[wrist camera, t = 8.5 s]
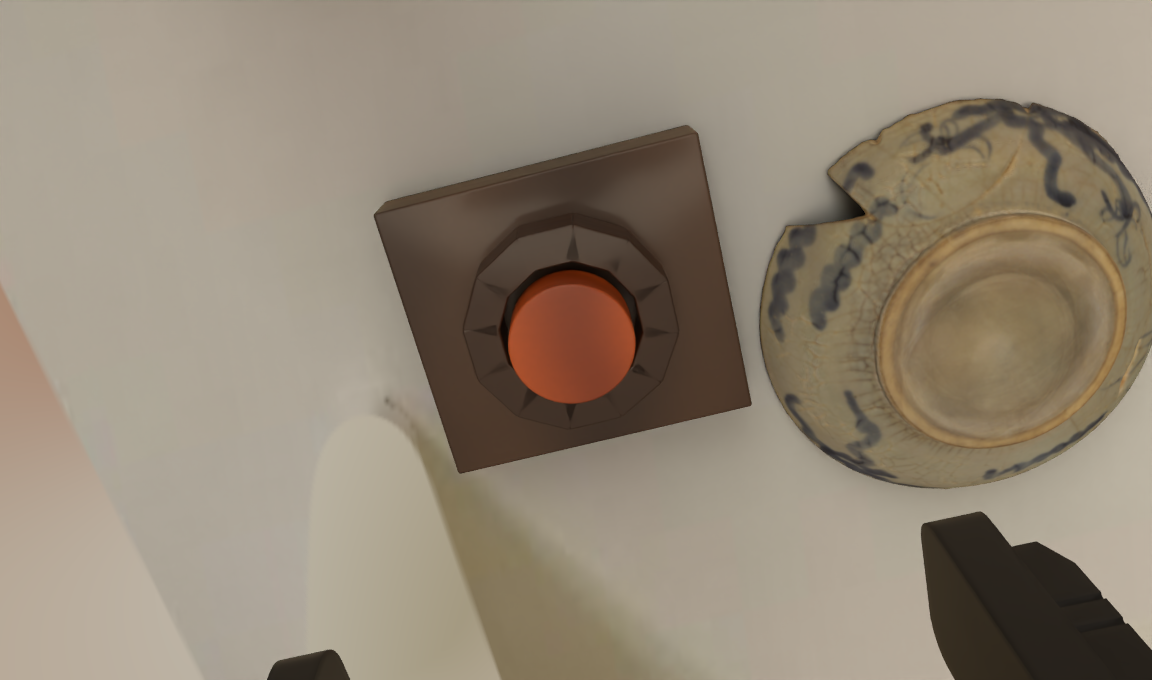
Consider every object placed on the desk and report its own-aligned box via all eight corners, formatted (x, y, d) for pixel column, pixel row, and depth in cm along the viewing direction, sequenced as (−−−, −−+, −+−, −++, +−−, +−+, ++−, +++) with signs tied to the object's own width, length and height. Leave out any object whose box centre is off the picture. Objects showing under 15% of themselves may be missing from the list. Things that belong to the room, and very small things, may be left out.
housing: (464, 448, 35) (453, 499, 31) (384, 201, 32) (361, 226, 28) (740, 383, 34) (763, 427, 31) (688, 124, 31) (706, 138, 27)
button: (528, 395, 30) (526, 417, 29) (496, 285, 29) (492, 301, 27) (643, 368, 30) (647, 388, 29) (616, 256, 29) (619, 270, 27)
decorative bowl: (1047, 521, 37) (1241, 170, 32) (1097, 575, 33) (1323, 190, 28) (702, 428, 35) (851, 43, 30) (717, 473, 32) (887, 47, 27)
